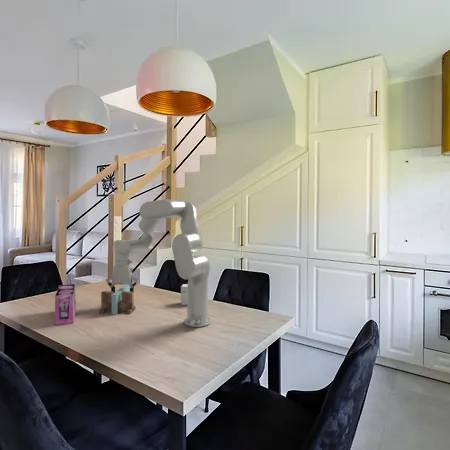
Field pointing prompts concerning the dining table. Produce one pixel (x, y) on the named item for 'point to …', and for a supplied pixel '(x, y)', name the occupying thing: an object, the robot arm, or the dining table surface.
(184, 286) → the small box
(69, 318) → the gum box
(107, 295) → the notched wall
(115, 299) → the notched board
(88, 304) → the dining table surface
